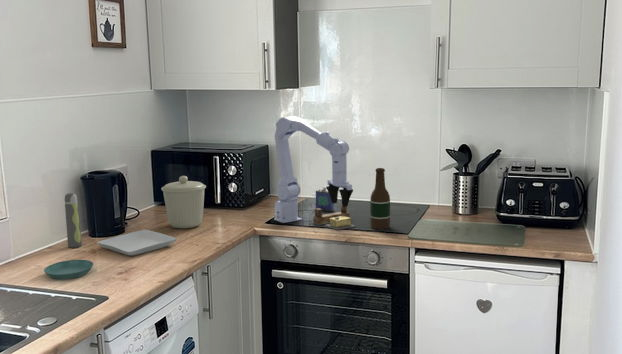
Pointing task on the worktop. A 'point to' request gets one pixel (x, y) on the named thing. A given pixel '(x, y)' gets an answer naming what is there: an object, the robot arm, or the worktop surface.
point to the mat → (340, 227)
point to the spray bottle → (72, 221)
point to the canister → (184, 202)
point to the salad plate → (137, 242)
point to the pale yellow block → (340, 221)
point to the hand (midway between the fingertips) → (339, 204)
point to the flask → (324, 200)
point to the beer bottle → (380, 203)
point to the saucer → (68, 269)
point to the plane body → (328, 216)
